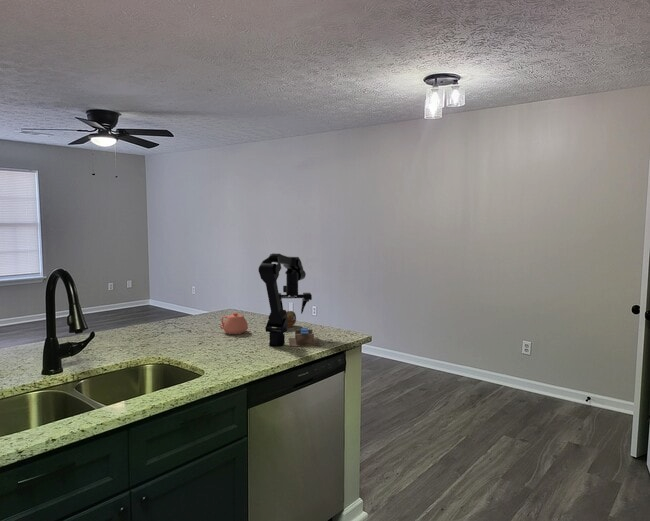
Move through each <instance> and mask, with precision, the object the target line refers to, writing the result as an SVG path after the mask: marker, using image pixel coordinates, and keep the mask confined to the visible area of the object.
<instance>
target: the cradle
mask: <svg viewBox="0 0 650 521" xmlns="http://www.w3.org/2000/svg"><path fill="white" fill-rule="evenodd" d="M294 332H295V333H294V334H295V336H294V337H288V344H289V347H290V348H303V347H304V348H306V347H321V346H322V345H321V342H320V339H319V337H318V336H316V337H315V334H314V333H313V329H309V328H308V332H309V334H300V329H295V330H294Z"/></svg>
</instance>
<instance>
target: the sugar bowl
mask: <svg viewBox="0 0 650 521" xmlns="http://www.w3.org/2000/svg"><path fill="white" fill-rule="evenodd" d="M225 318H226V319H225ZM224 319H225V320H224ZM220 320H221V325H220V326H219V328H220V329H221V330H223V331H224V332H225V333H226V334H228V333H230V334H229V335H232V334H233V335H234V334H235V335H240V334H239V333H241V334H244V333H246V331H247V330H248V329H249V326H248V325H249V324H248V322H247V320H246V318H245V316H244V315H243V314H239V313H238V312H232V314H229V315H228V316H226V315H224V316H223V317H221V319H220Z"/></svg>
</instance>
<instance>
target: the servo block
mask: <svg viewBox="0 0 650 521" xmlns="http://www.w3.org/2000/svg"><path fill="white" fill-rule="evenodd" d="M308 329H309V328H308V327H300V328H299V330H300V334H309V332H308Z"/></svg>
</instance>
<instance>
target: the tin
mask: <svg viewBox="0 0 650 521" xmlns="http://www.w3.org/2000/svg"><path fill="white" fill-rule="evenodd" d="M286 313H287V319H288V326H287V329H288V328H292V327H293V326H294V325H295V324H296V321H297V316H296V313H295V312H294V311H293V310H286Z"/></svg>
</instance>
